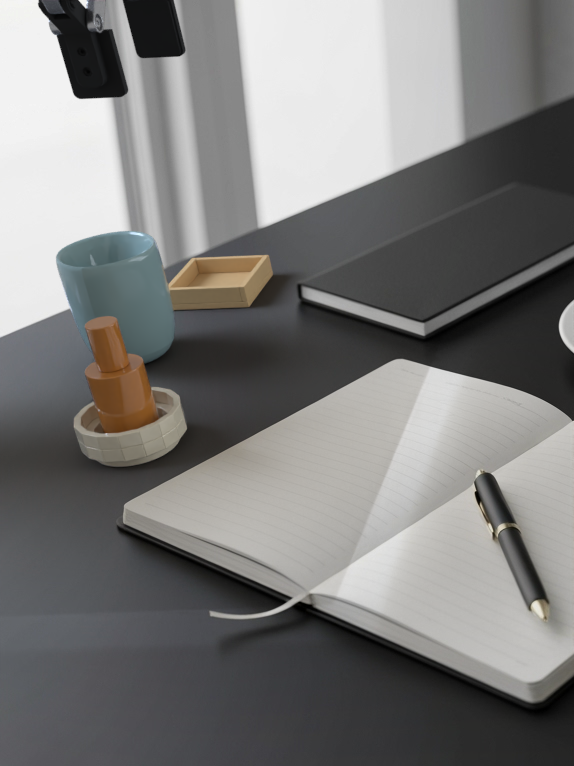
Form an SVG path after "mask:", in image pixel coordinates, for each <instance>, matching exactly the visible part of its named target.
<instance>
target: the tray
mask: <svg viewBox="0 0 574 766" xmlns="http://www.w3.org/2000/svg"><path fill="white" fill-rule="evenodd" d="M273 276H274V272H273V267H272V263H271V259H270V255H269V254H256V255H254V254H253V255H232V256H230V255H229V256H209V257H208V256H207V257H206V256H205V257H192V258H190V260H189V261H188V262H187V263H186V264H185V265H184V266H183V267H182V269H180V270H179V272H178V273H177V274H176V275H175V276H174V277H173V278H172V280H171V281H170V282H168V286H169V290H170V295H171V299H172V304H173V310H174V311H186V310H189V311H190V310H191V311H192V310H213V309H237V308H238V309H240V308H250V307H251V305H252V304H253V302H254V301H255V300H256V299H257V297H258V296H259V295H260V293H261V292H262V290H263V289H264V288H265V286H266V285H267V284H268V282H269V281H270V280H271V279H272V277H273Z"/></svg>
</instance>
